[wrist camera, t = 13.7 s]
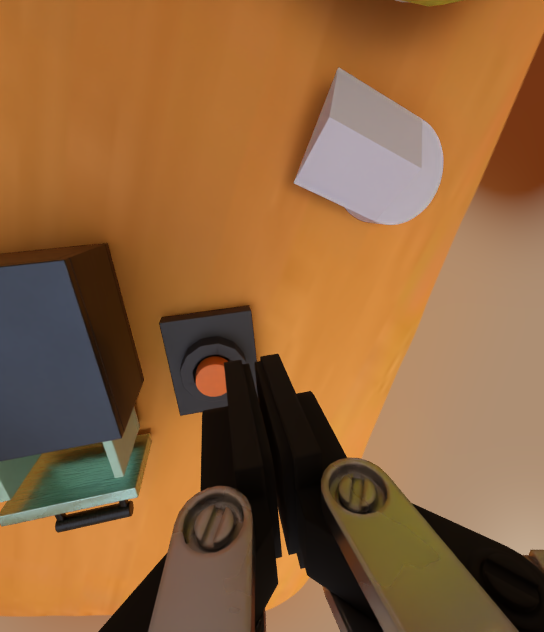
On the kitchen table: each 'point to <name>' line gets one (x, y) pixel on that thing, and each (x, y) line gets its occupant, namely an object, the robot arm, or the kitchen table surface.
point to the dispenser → (63, 351)
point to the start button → (211, 376)
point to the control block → (206, 350)
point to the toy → (430, 2)
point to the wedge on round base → (371, 155)
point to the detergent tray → (76, 482)
